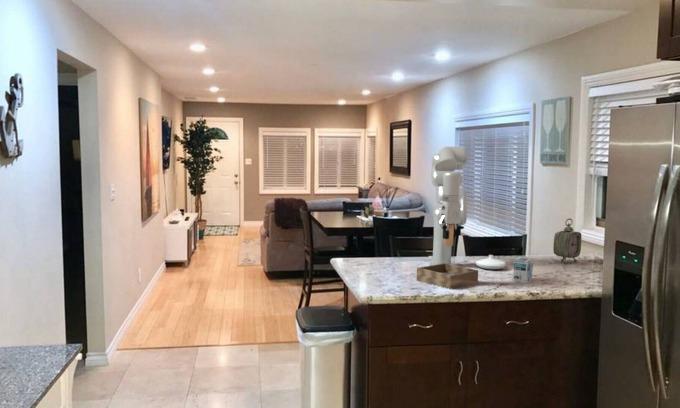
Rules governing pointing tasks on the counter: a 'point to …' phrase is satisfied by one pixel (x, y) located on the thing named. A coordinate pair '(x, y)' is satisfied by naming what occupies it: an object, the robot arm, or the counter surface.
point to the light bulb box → (523, 269)
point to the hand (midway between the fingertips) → (448, 237)
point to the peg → (450, 236)
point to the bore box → (447, 275)
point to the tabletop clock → (567, 243)
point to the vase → (490, 263)
